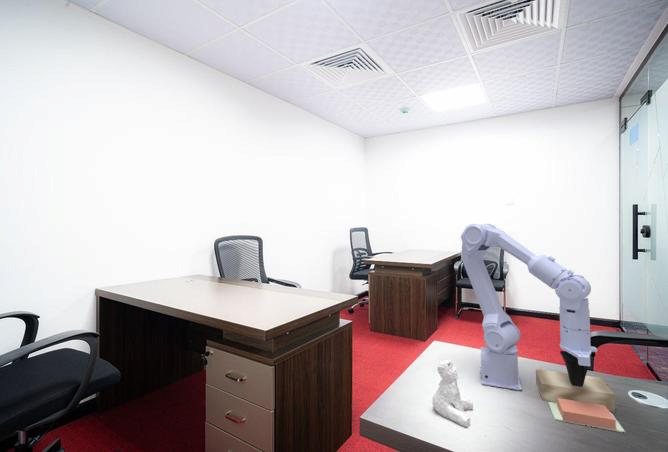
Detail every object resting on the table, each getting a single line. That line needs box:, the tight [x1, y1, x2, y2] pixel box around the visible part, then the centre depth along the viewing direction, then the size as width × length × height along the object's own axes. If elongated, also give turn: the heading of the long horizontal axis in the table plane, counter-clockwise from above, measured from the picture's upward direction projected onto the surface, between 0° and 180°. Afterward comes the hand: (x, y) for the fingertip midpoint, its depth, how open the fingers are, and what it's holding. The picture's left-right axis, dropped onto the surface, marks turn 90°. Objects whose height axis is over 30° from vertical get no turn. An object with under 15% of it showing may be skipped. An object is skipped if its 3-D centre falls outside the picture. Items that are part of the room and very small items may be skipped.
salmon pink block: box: [557, 398, 617, 430], centre depth 71 cm, size 9×6×2 cm, turn 66°
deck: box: [535, 368, 616, 413], centre depth 80 cm, size 14×9×4 cm, turn 66°
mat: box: [547, 401, 626, 434], centre depth 72 cm, size 12×8×1 cm, turn 66°
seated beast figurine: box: [431, 359, 474, 428], centre depth 74 cm, size 10×9×12 cm
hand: (576, 385), depth 76 cm, fingers closed
